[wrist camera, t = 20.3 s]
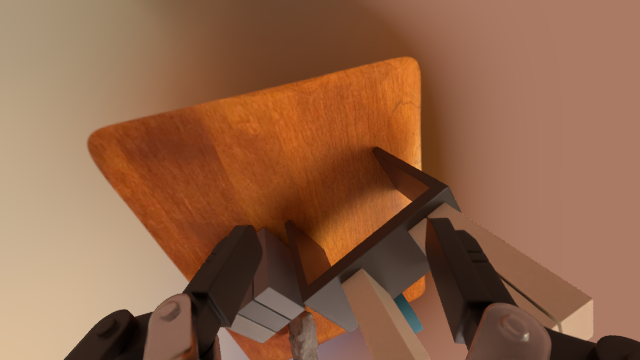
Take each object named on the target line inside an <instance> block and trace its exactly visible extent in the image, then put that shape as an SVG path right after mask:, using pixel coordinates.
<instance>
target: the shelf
mask: <svg viewBox="0 0 640 360" xmlns="http://www.w3.org/2000/svg"><path fill="white" fill-rule="evenodd" d="M372 152H373V154H374V155H375V157H376V158H377V160H378V161H379V163H380V164H381V166H382V167H383V169H384V170H385V172H386V173H387V175H388V176H389V178H390V179H391V181H392V182H393V184H394V185H395V187H396V188H397V190H398V191H399V192H401V193H402V194H403V195H405V196H406V197H407V198H408V199H410V200H411V201H412V202H411V203H410V204H409V205H408V206H406V207H405V208H404V209H403V210H401V211H400V212H399V213H398V214H396V215H395V216H394V217H393V218H391V219H390V220H389V221H388V222H386V223H385V224H384V225H383V226H382V227H380V228H379V229H378V230H377V231H375V232H374V233H373V234H372V235H370V236H369V237H368V238H367V239H365V240H364V241H363V242H362V243H360V244H359V245H358V246H357V247H355V248H354V249H353V250H352V251H350V252H349V253H348V254H347V255H346V256H344V257H343V258H342V259H341V260H339V261H338V262H337V263H336V264H334V265H333V266H332V267H331V265H330V263H329V260H328V258H327V256H326V253H325V251H324V249H322V248H321V247H320V246H319V245H318V244H317V243H316V242H314V241H313V240H312V239H311V238H310V237H309V236H308V235H306V234H305V233H304V232H303V231H302V230H301V229H300V228H298V227H297V226H296V225H295V224H294V223H293V222H292V221H290V220H289V221H288V222H287V223H286V224H285V229H286V233H287V237H288V242H289V246H290V250H291V255H292V259H293V264H294V268H295V272H296V277H297V281H298V285H299V290H300V294H301V298H302V302H303V304H305V305H306V306H308V307H310V308H311V309H313V310H314V311H316V312H318V313H319V314H321V315H322V316H324V317H326V318H327V319H329V320H330V321H332V322H334V323H335V324H337V325H338V326H340V327H341V328H343V329H345V330H346V331H348V332H349V333H350V332H352V331H353V330H354V329H356V328H357V327H358V326H359V325H358V322H357V320H356V318H355V316H354V313H353V311H352V309H351V306H350V304H349V302H348V299H347V297H346V295H345V293H344V290H343V288H342V286H341V284H342V283H344V282H345V281H346V280H347V279H349V278H350V277H351V276H352V275H354V274H355V273H356V272H357V271H359V270H360V269H361V268H362V269H363V270H365V271H366V272H367V273H368V274H369V275H370V276H371V277H372V278H373V279H374V280H375V281H376V282H377V283H378V284H379V285H380V286H381V287H383V288H384V289H385V290H386V291H387V292H388V293H389V294H390V296H391V297H392V299H394V298H396V297H397V296H398V295H400V294H401V293H402V292H403V291H405V290H406V289H407V288H409V287H410V286H411V285H412V284H414V283H415V282H416V281H418V280H419V279H420V278H421V277H423V276H424V275H425V274H426V273H428V272H429V271H430V267H429V264H428V261H427V257H426V256H425V254H424V253H423V251H422V250H421V249H420V247H419V246H418V245H417V243H416V242H415V241H414V239H413V238H412V236H411V235H410V234H409V232H408V231H409V230H410V229H412V228H413V227H414V226H416V225H417V224H418V223H419V222H421V221H422V220H423V219H424V218H426V219H428V217H427V216H428V215H429V214H430V213H432V212H433V211H434V210H436V209H437V208H438V207H439V206H441V205H442V204H443V203H444V202H445V203H446V204H448V205H449V206H451V207H452V208H454V209H456V210H457V211H459V212H460V213H461V211H460V208H459V206H458V204H457V202H456V200H455V198H454V196H453V194H452V192H451V190H450V188H449V186H447V185H446V184H444V183H442V182H440V181H438V180H437V179H435V178H433V177H431V176H429V175H428V174H426V173H424V172H422V171H420V170H419V169H417V168H415V167H413V166H411V165H410V164H408V163H406V162H404V161H402V160H400V159H399V158H397V157H395V156H393V155H391V154H390V153H388V152H386V151H384V150H382V149H381V148H379V147H377V148H376V149H374V150H373V151H372Z"/></svg>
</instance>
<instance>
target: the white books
mask: <svg viewBox="0 0 640 360" xmlns="http://www.w3.org/2000/svg"><path fill="white" fill-rule="evenodd" d="M427 217H428V218H446V217H447V218H449V220H450V221H451V223H452V225H453V227H454V229H455V230H465V231H466V232H468V233H469V234H470V235H471V236H473V237H474V238H475V239H476V240H477V242H478V243H479V245H480V247H481V248H482V250H483V253H485V255H486V256H487V258H488V259H489V263H491V264H492V266H493V267H494V269H495V271H496V272H497V274H498V275H499V277H500V279H501V280H502V282H503V283H504V285H505V287H506V288H507V290H508V292H509V293H510V295H511V296H512V298H513V300H514V301H515V303H516V304H517V305H518V307H519V308H521V309H523V310H525V311H527V312H528V313H530V314H531V315H532V316H534V317H535V318H536V319H537V320H538V321H539V322H540V323H541V324H542V325H543V326H545V327H547V328H549V329H552V330H554V331H557V332H560V333H563V334H567V335H570V336H573V337H577V338H580V339H583V340H586V341H587V340H588V339H589V338H591V337H592V336H593V299H592V298H591V297H590V296H588V295H587V294H585V293H583V292H582V291H580V290H579V289H577V288H576V287H574V286H572V285H571V284H570V283H568V282H567V281H565V280H563V279H562V278H560V277H559V276H557V275H556V274H554V273H553V272H551V271H549V270H548V269H547V268H545V267H543V266H542V265H540V264H539V263H537V262H536V261H534V260H533V259H531V258H529V257H528V256H526V255H525V254H523V253H522V252H520V251H519V250H517V249H516V248H514V247H513V246H511V245H509V244H508V243H506V242H505V241H503V240H502V239H500V238H499V237H497V236H496V235H494V234H492V233H491V232H489V231H488V230H486V229H485V228H483V227H482V226H480V225H479V224H477V223H476V222H474V221H473V220H471V219H469V218H468V217H466V216H465V215H463V214H462V213H460V212H459V211H457V210H456V209H454V208H452V207H451V206H449V205H448V204H446V203H445V202H444V203H443V204H442V205H441V206H439V207H438V208H437V209H436V210H434V211H433V212H432V213H430V214H429V215H428V216H427ZM426 224H427V219H426V218H424V219H423V220H422V221H421V222H419V223H418V224H417V225H416V226H414V227H413V228H412V229H410V230H409V231H408V232H409V234H410V235H411V236H412V238H413V239H414V241H415V242H416V243H417V245H418V246H419V247H420V249H421V250H422V251H423V253H424V254H425V256H426V252H425V238H426Z"/></svg>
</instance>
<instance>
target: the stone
mask: <svg viewBox="0 0 640 360" xmlns="http://www.w3.org/2000/svg"><path fill="white" fill-rule="evenodd" d="M290 320H291V319H290ZM289 334H290V335H289V341H290V344H291V350H292V355H293V359H294V360H318V357H317V348H318V340H317V337H316V324H315V321H314V319H313V318H312V314H311V313H309V312H304V311H303V312H302V313H300V314H299V315H298V316H297V317H295V318H294V319H293V320H291V321H290V322H289Z"/></svg>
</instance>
